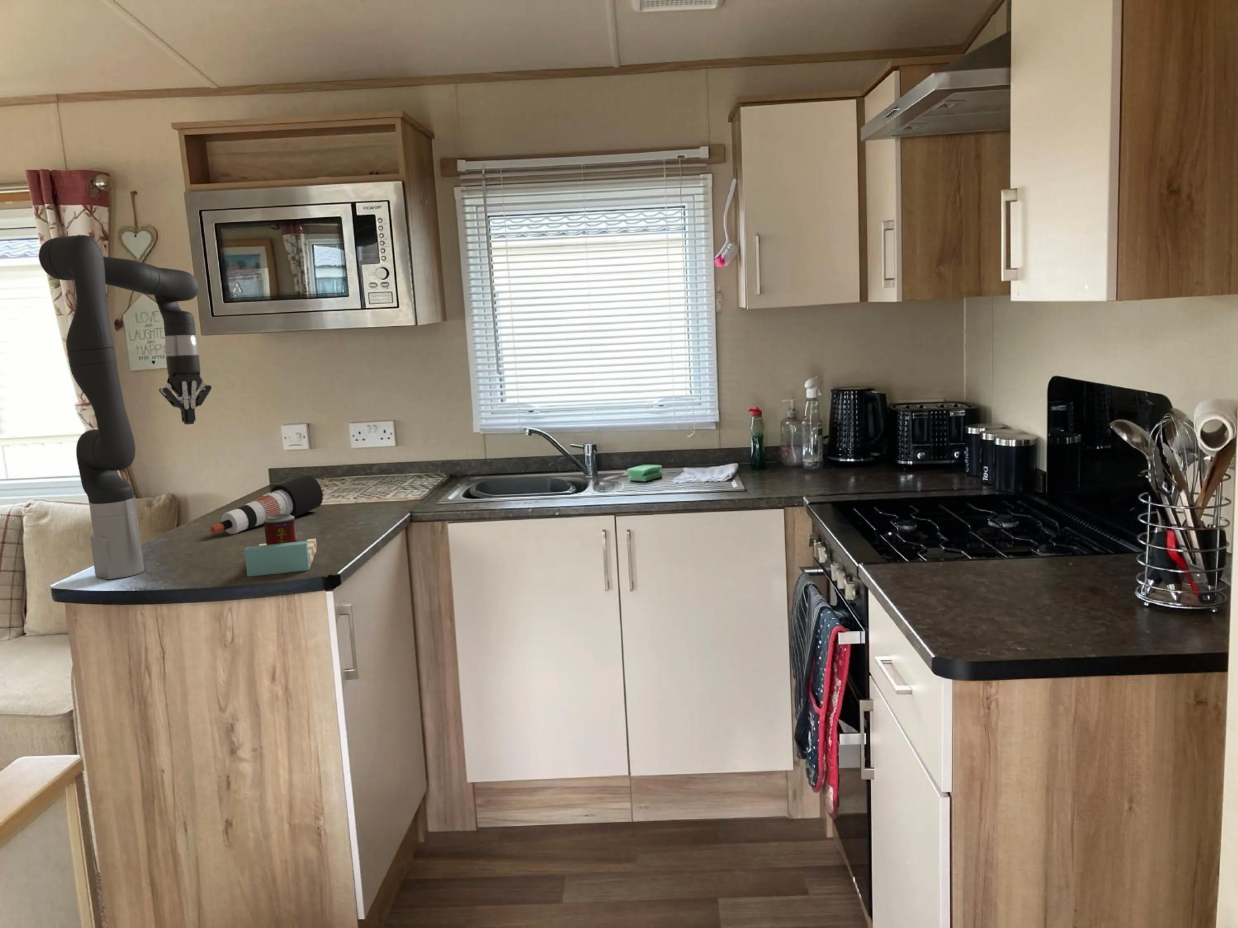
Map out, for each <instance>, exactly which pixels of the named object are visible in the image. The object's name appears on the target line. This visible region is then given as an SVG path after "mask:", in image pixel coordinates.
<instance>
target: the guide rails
mask: <svg viewBox="0 0 1238 928" xmlns="http://www.w3.org/2000/svg"><path fill="white" fill-rule="evenodd" d="M306 541H307V542H308V552H309V566H310V567H311V565H312V563H313V560H314V558H315V555H316V552H317V550H318V549H317V548H318V546H317V539H316V538H310V539H306ZM261 545H266V543H259V545H258V546H261Z"/></svg>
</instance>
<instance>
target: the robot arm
mask: <svg viewBox="0 0 1238 928" xmlns="http://www.w3.org/2000/svg"><path fill="white" fill-rule="evenodd" d="M102 252H103V251H102V249H101V247H100V245H99V244H98V242H97V241H96V240H95V239H94V238H93V237H91V236H89V235H87V234H86V235H85V234H79V235H77V234H76V235H69V236H68V235H67V236H57V237H53V238H50V239H47V240H46V241H45V242H44V243H42V244H41V246H40V248H39V250H38V260H39V261H38V262H39V264H40V266H41V269H43V271H44V272H45V273H46V274H48V275H49V276H50V277H51V278H54V279H57V280H61V281H73V283H74V286H75V287H74V288H75V296H76V305H75V312H74V314H73V317H72V320H71V322H70V326H69V328H68V331H67V334H66V341H65V347H66V354H67V358H68V363H69V368H70V372H71V375H72V377H73V379H74V380H75V383H76V384H77V386H78V387H79V388H80V390H81V391H82V393H83V394H84V396H85V398H87V401H88V402H89V404H90V405H91V407H92V409H93V412H94V416H95V418H96V419H95V421H96V425H97V429H95V428H94V429H89V430H87V431H85V432H83V433H82V434H80V436H79V438H78V440H77V443H76V449H75V451H76V462H77V467H78V473H79V476H80V477H79V478H80V482H81V486H82V489H83V491H84V493H85V494H86V496H87V499H88V504H89V512H90V519H91V527H92V535H90V536H89V540H90V541H89V542H90V546H91V555H92V560H93V568H94V574H95V577H97V578H100V579H104V580H107V579H110V580H113V579H120V578H128V577H131V576H136V575H138V574H141V573H143V572H145V564H144V558H143V552H142V543H141V536H140V530H139V522H138V515H137V514H138V513H137V506H136V499H135V493H134V488H133V486H132V485H131V484H130V483H129V482H127V481H126V480H124V479H123V478H122V477H121V476H120V474H119V471H124V470H127V469H128V468H129V467H131V465H132V464H133V462H134V460H135V457H136V442H135V438H134V434H133V431H132V427H131V424H130V420H129V416H128V413H127V411H126V407H125V401H124V396H123V393H122V392H123V390H122V386H121V382H120V376H119V370H118V361H117V357H116V350H115V344H114V340H113V336H112V330H111V329H112V328H111V323H110V316H109V315H110V314H109V307H108V300H107V287H106V286H107V285H108V286H111V287H112V286H113V287H116V288H119V289H123V290H124V289H125V290H128V291H132V292H135V293H138V294H139V293H140V294H144V295H149V296H154V299H155V302H156V304H157V308H158V310H159V312H160V315H161V317H162V320H163V329H164V353H165V359H166V370H167V371H166V372H167V374H168V376H167V379H166V384H165V385H164V386H163V387H159V389H158V392H159V393H160V394H161V395H162V397H164V399H166V401H168V403H169V404H170V405H171V406H172V407H173V408H177V409H179V410H180V414H181V415H180V416H181V422H182V423H184V425H194V424H195V422H196V420H197V419H196V408H197V407H199V406H202V405H203V403H204V402H205V401H206V399H207V396H208V395H209V394H210V392H211V390H212V386H211V384H207V383H205V382H203V378H202V376H201V365H200V363H201V362H200V352H199V345H198V343H199V342H198V339H197V335H196V334H197V333H196V322H195V317H194V315H193V313H191V312H190V311H187V310H182V309H181V307H180V305H179V302H187V301H191V300H193V299H195V297H197V295H198V294H199V291H200V287H199V286H200V285H199V282H198V280H197V278H195V276H194V275H192V274H191V273H190V272H188V271H185V270H180V269H173V268H165V267H159V266H156V265H152V264H149V263H145V262H142V261H138V260H134V259H129V258H128V259H127V258H118V257H110V256H103V253H102ZM198 391H199V392H198ZM197 392H198V393H197ZM174 393H175V394H174Z"/></svg>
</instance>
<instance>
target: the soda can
mask: <svg viewBox="0 0 1238 928" xmlns="http://www.w3.org/2000/svg"><path fill="white" fill-rule="evenodd" d="M263 526H264V527H263V529H264V534H265V537H264V538H265V544H266V545H271V544H281V543H291V542H298V535H297V528H296V527H297V526H296V517H294V516H292V515H290V514H276V515H272V516H269V517H267V518H266V519H265V520H264V524H263Z"/></svg>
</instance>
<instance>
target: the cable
mask: <svg viewBox="0 0 1238 928" xmlns="http://www.w3.org/2000/svg"><path fill="white" fill-rule="evenodd" d="M270 490H271V492H270V493H269V494H266V495H264V496H261V497H258V498H256V499H253V500H251V501H250V502H247V503H246V504H243V505H241V506H239V507H236V508H234V509H231V510H230V511H227V512H225V513H223V514H222V515H221V521H220V522H219V523H216V524H214V525H212V526H210V527H209V529H210V533H212V534H213V535H215V534H218V533H221V532H224V531H226V533H228V534H229V535H236V534H237V533H239V532H243V531H246V530H248V529H251V528H254V527H257V526H261V525H264V520H265V519H266V518H267V517H269V516H272V515H276V514H290V515H292V516H294V518H296V517H299V516H301V515H304V514H306V513H308V512H310V511H313V510H315V509H317V508H320V506H321V505H322V504H323V500H324V497H323V496H324V493H323V490H322V486H321V484H320V483H319V482H318V480H316V478H314V477H313V476H311V475H308V474H306V475H301V476H297V477H296V478H293V479H290V480H288V481H285V482H282V483H280V484H277V485H275V486H274V487H273V488H272V489H270Z"/></svg>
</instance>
